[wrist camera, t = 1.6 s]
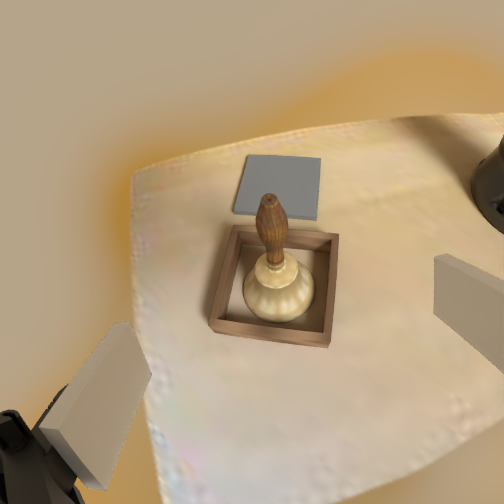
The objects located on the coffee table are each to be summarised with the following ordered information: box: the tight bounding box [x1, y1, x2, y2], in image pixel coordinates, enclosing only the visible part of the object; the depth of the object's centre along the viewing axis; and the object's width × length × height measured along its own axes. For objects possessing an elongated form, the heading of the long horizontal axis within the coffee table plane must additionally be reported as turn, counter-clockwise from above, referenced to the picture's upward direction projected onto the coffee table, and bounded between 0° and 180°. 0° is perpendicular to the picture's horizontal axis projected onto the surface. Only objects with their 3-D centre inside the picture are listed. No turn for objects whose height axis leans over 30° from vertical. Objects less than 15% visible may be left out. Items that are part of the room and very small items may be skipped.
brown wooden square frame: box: [208, 225, 339, 348], centre depth 35 cm, size 13×13×3 cm
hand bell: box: [243, 193, 315, 323], centre depth 29 cm, size 8×8×16 cm
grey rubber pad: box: [233, 155, 321, 221], centre depth 44 cm, size 11×11×1 cm
